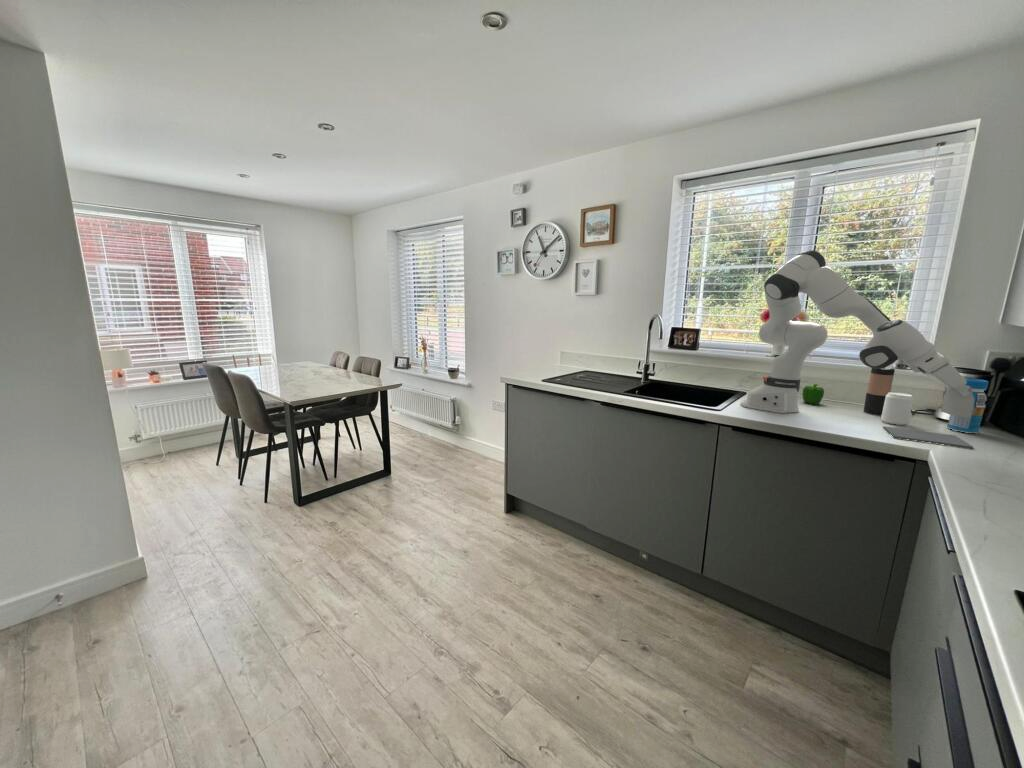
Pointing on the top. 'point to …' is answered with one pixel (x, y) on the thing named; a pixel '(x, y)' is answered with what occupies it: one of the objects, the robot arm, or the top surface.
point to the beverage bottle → (977, 412)
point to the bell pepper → (813, 394)
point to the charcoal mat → (927, 437)
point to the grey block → (958, 403)
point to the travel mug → (878, 390)
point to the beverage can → (897, 408)
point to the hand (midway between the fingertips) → (960, 392)
